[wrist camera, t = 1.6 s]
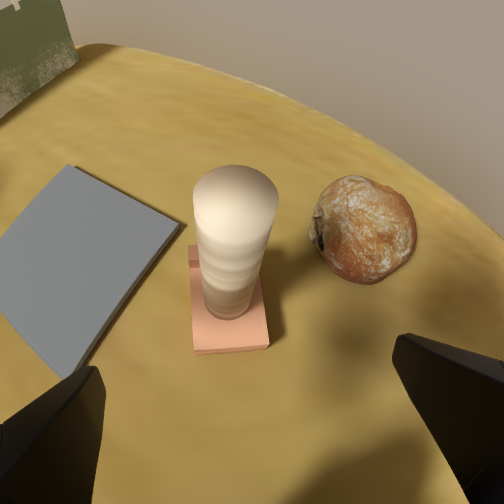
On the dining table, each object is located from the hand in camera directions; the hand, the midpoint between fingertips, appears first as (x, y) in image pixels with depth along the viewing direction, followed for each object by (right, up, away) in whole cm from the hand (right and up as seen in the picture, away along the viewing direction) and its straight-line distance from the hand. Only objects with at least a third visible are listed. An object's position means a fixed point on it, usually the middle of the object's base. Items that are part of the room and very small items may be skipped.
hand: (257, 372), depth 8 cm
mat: (-17, +3, +15) cm, 23 cm away
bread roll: (+10, +5, +20) cm, 22 cm away
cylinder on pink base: (-2, -1, +15) cm, 15 cm away
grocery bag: (-47, +32, +28) cm, 64 cm away
